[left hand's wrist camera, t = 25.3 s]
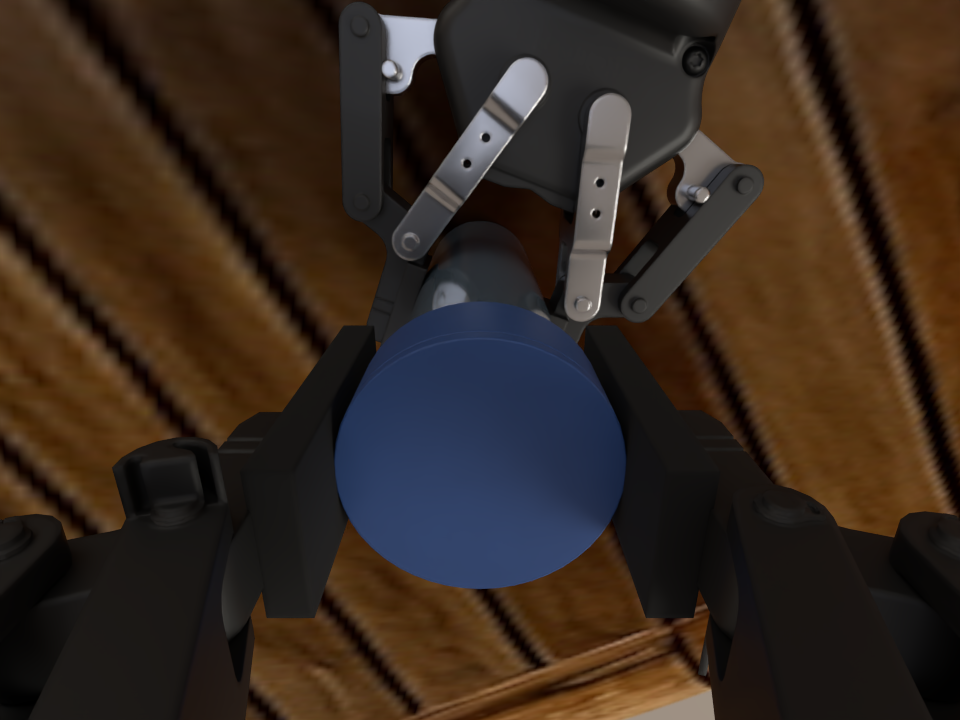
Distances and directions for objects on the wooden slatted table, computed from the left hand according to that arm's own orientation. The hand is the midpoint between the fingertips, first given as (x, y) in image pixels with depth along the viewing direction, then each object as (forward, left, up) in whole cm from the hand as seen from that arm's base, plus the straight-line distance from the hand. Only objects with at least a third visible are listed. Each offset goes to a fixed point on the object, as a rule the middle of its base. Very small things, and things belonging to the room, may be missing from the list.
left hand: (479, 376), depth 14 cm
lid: (0, 0, +4) cm, 4 cm away
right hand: (+2, -2, -6) cm, 7 cm away
